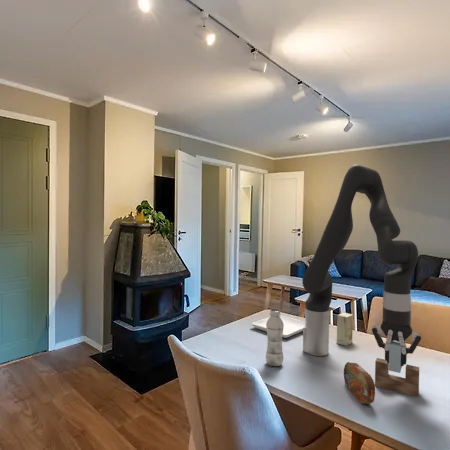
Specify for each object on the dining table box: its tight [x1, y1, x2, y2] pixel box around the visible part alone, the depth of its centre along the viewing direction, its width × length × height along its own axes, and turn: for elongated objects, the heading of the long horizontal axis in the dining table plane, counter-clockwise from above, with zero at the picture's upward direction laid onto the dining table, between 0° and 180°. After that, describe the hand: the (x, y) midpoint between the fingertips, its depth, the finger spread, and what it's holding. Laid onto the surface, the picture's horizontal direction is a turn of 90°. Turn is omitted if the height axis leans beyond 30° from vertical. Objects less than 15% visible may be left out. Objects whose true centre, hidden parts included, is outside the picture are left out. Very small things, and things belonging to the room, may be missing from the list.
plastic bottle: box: [265, 308, 284, 367], centre depth 120 cm, size 6×7×20 cm
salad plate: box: [251, 314, 305, 339], centre depth 158 cm, size 21×21×3 cm
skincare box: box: [336, 312, 354, 346], centre depth 141 cm, size 6×4×12 cm
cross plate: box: [389, 341, 403, 374], centre depth 104 cm, size 14×3×8 cm, turn 147°
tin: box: [343, 361, 376, 405], centre depth 100 cm, size 15×3×8 cm, turn 5°
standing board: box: [374, 357, 420, 398], centre depth 104 cm, size 12×3×8 cm, turn 57°
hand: (395, 363), depth 100 cm, fingers closed on cross plate, 3 cm apart
